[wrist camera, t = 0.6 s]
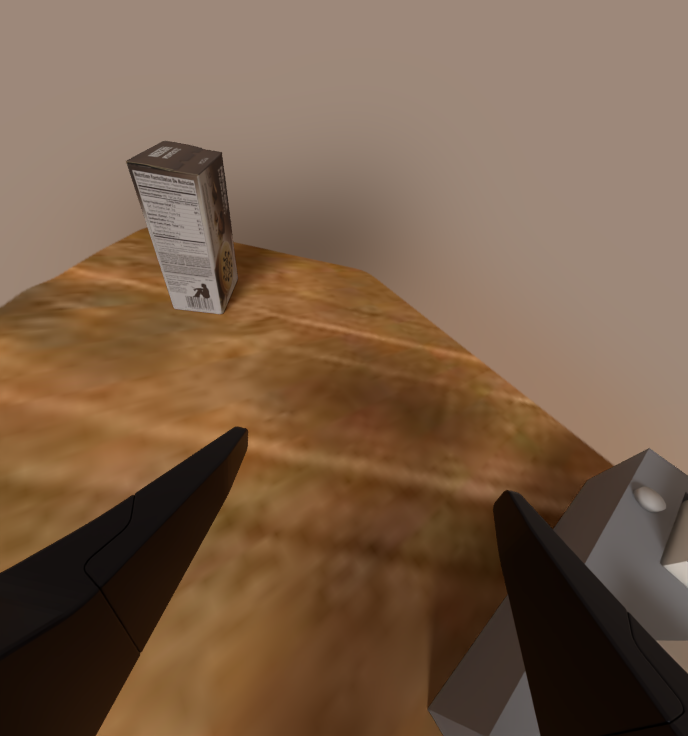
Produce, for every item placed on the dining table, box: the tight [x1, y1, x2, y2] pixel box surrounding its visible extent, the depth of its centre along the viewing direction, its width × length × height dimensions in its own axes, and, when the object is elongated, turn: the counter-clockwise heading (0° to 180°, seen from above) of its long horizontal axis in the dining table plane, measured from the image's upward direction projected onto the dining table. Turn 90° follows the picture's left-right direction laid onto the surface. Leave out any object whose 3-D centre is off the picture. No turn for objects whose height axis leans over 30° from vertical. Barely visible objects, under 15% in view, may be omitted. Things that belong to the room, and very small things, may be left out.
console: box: [428, 449, 688, 736], centre depth 17 cm, size 25×14×7 cm, turn 126°
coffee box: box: [126, 141, 238, 314], centre depth 34 cm, size 9×6×16 cm
